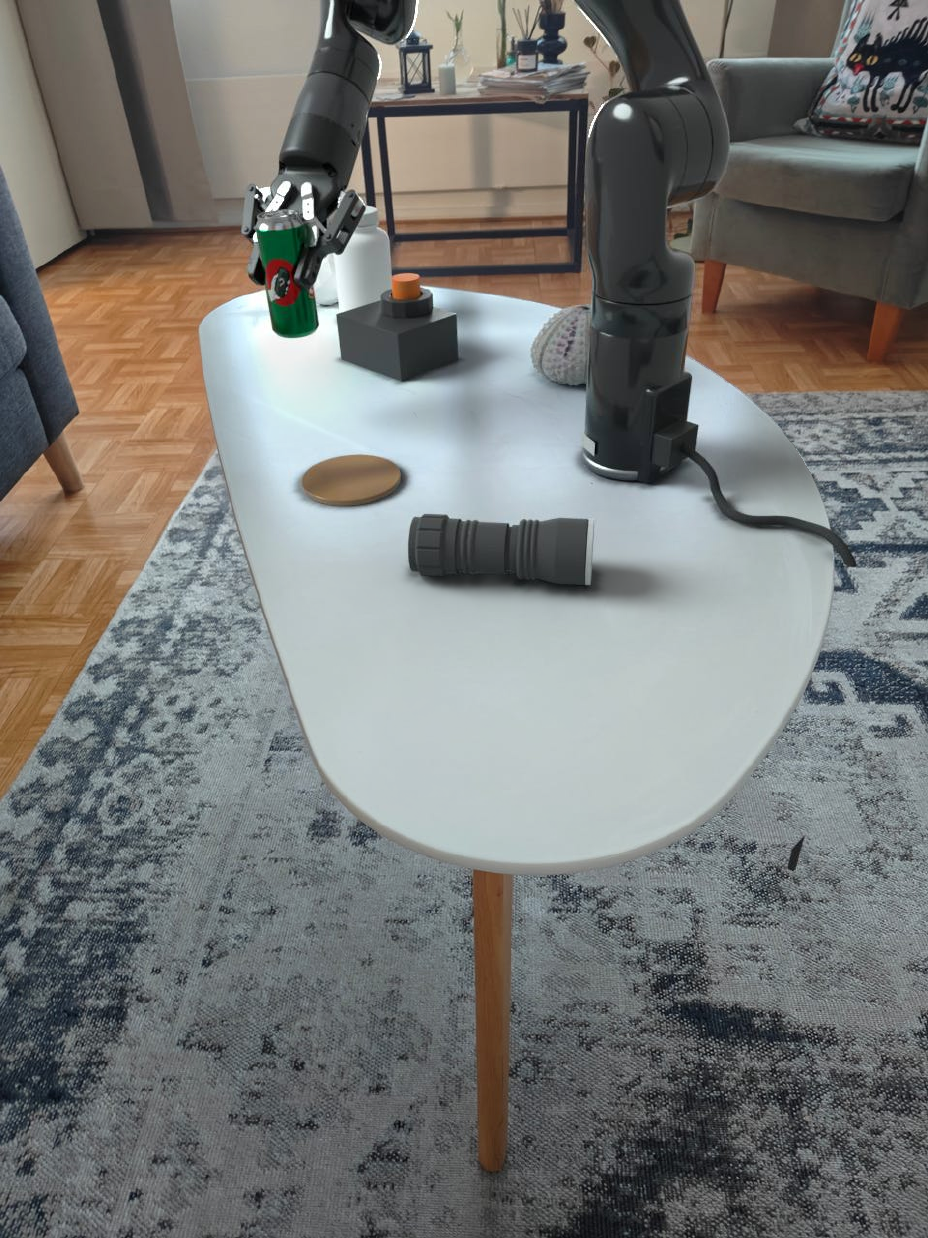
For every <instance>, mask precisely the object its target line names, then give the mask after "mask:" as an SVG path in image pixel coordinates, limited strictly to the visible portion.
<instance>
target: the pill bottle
mask: <svg viewBox="0 0 928 1238" xmlns="http://www.w3.org/2000/svg"><path fill="white" fill-rule="evenodd" d="M365 206H366V210H365V212H364V214H363V216H362V218H361V220H360V222H359V223H358V225H357V227H356V229H355V231H354V233H353V235H352V237H351V239H350V240H349V242H348V244H347V246H346V248H345V250H344V252H343V253H342V254H340V255H336V254H335V253H333V254H334V261H335V271H336V281H337V291H338V311H339V313H342V312H345V311H348V310H351V309H354V308H357V307H361V306H364V305H367V304H370V303H373V302H376V301H379V300H381V297H380V296H381V294H382V293H384V292H385V291H387V290H391V289H392V283H391V277H392V276H393V274H392V273H393V272H392V260H391V259H392V257H391V245H390V243H391V242H390V237H389V235H388V233H387V232H386V230H384V229H382V228H381V227H378V226H379V225H380V223H379V210H378V208H377V207H375V206H370V205H365ZM340 231H341V230H340ZM339 233H340V232H339ZM338 235H339V234H338ZM337 237H338V236H337Z"/></svg>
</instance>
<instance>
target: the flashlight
mask: <svg viewBox="0 0 928 1238" xmlns="http://www.w3.org/2000/svg"><path fill="white" fill-rule="evenodd" d="M594 537H595V518H575V517H556V518H551V519H546V520H539V519H534V520H533V519H531V518H530V519H528V520H527V519H525V518H523V519H521V520H520V521H519V524H512V526H510V523H509V522H494V521H493V522H492V521H491V522H490V521H479V520H478V519H473V520H471V519H466V520H462V519H461V518H450V517H449V515H448V514H444V513H443V514H441V513H440V514H439V513H423V514H422V515H421V516H414V517H413V518H412V519H411V522H410V525H409V530H408V540H407V557H408V565H409V568H410V571H411V572H417V573H419V574H420V575H421V576H433V577H435V576H436V577H437V576H438V577H445V576H446V575H447V574H455V575H456V574H459V573H461V572H462V573H464V574H469V573H470V574H471V575H474V574H476V573H482V574H484V573H485V574H504V575H505V574H507V573H508V571H509V572H510V573H513V574H514V573H515V574H516V576H517V579H520V580H523V579H525V580H529V579H531V580H534V581H535V580H536V579H538V580H541V581H545V582H549V583H552V584H555V585H556V584H557V585H574V586H575V585H578V586H591V584H592V574H593V573H592V572H593V571H592V570H593V556H594V555H593V554H594V539H595V538H594Z"/></svg>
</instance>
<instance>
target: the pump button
mask: <svg viewBox="0 0 928 1238" xmlns="http://www.w3.org/2000/svg"><path fill="white" fill-rule="evenodd" d="M391 283H392V296H393V298H395V299H404V300H406V299H415V298H418V297H421V292H420V287H421V277H420V275H419V274H417V273H411V272H403V273H396V274H394V275H392V277H391Z"/></svg>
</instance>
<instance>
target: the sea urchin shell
mask: <svg viewBox="0 0 928 1238" xmlns="http://www.w3.org/2000/svg"><path fill="white" fill-rule="evenodd" d="M590 310H591V303H590V304H589V303H585V304H580V305H579V304H578V305H572V306H567V307H565V308H563V309H561V310H559V311H558V312H556V313H554V314H553V316H552V317H549V318H548V320H547V322H545V323H543V326H542V328H541V329H539V332H538V334H537V335H536V337H534V339H533V342H532V343H531V347H530V350H529V351H530V355H529V356H530V358H531V363H532V367H533V368H534V369H535V371H536V373H540V375H541V376H542V377H543V378H547V379H549V380H550V381H551V382H554V383H558V384H559V385H560V384H562V385H566V384H567V385H569V386H573V385H574V386H579V385H586V386H587V367H588V347H589V328H590Z"/></svg>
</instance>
